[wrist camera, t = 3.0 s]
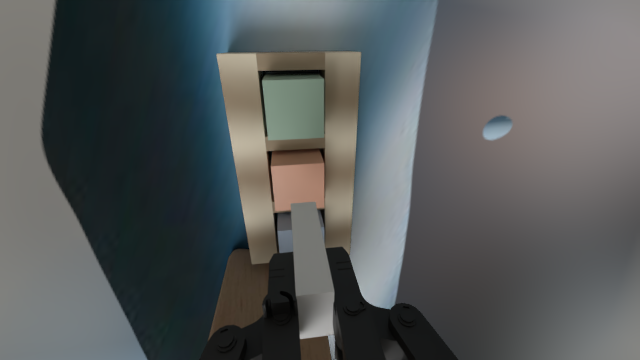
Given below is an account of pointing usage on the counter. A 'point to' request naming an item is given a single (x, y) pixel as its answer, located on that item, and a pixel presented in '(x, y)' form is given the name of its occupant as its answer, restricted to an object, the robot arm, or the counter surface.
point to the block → (254, 301)
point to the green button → (294, 106)
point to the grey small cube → (289, 231)
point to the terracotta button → (297, 177)
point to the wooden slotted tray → (291, 140)
